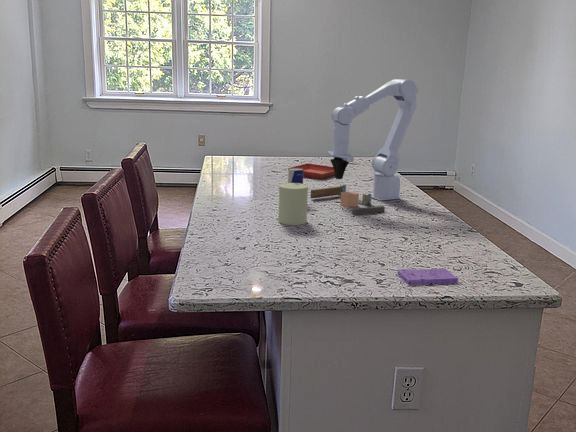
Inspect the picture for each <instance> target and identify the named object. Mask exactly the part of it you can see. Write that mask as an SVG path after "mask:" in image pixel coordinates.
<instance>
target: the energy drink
mask: <svg viewBox="0 0 576 432" xmlns="http://www.w3.org/2000/svg"><path fill="white" fill-rule="evenodd" d="M289 168H290V167H289ZM287 183H301V184H304V177H303V169H301V168H290V169H289V170H288V172H287Z"/></svg>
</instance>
